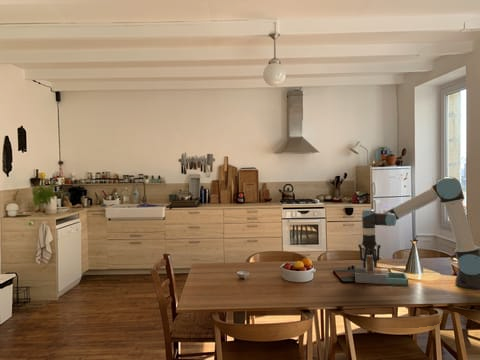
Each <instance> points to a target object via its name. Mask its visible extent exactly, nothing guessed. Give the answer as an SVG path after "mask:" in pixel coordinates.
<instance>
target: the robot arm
mask: <svg viewBox="0 0 480 360" xmlns="http://www.w3.org/2000/svg"><path fill="white" fill-rule="evenodd" d="M436 201H440V204H441V205H444V207H445V210H446V214H447V217H448V220H449V225H450V227H451V231H452V235H453V239H454V242H455V245H456V247H455V249H454V253H455V256H456V261H457V267H458V272H457V274H456V277H455V285H456V286H458V287H461V288H463V289H469V290H480V246H478V245H475V242H474V239H473V238H474V237H473V235H472V231H471V228H470V224H469V221H468V217H467V213H466V210H465V207H464V206H465V205H464V203H463V201H465V196H464V192H463V188H462V185H461V181H460V180H459V179H457V178H456V177H453V176H446V177H442V178H441V179H440V180H438V182H437V183H435V184H433V185H431V187H430V188H429V189H428V190H425V191H424V192H421V193H420V194H418V195H416V196H414V197H412V198H410V199H408V200H406V201H404V202H402V203H400V204H399V205H397V206H394V207H393V208H391V209H389V210H387V211H385V212H382V213H379V212H376V211H375V210H374V209H363V210H362V212H361V215H362V216H361V220H362V221H361V222H362V224H361V226H362V242H361V243H358V248H359V257H360V261H361V260H363V261H364V266H366V272H367V261H366V256H367V250H368V249H371V250H372V254H373V259H374V261H373V272H374V267H376V261H377V262H379V261H380V250H381V244H378V243H377V242H376V226H381V227H382V226H384V227H395V226H396V224H397V221H398V220H400V219H402V218H403V217H406V216H408V215H410V214H411V213H413V212H415V211H418V210H420V209H422V208H424V207H426V206H428V205H431V204H432V203H434V202H436ZM375 247H376V257H377V259H376V258H375V254H374V248H375ZM362 248H365V254H364V258H362Z"/></svg>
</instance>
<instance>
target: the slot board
mask: <svg viewBox="0 0 480 360" xmlns="http://www.w3.org/2000/svg"><path fill="white" fill-rule="evenodd" d="M354 282H355V283H360V284H361V283H363V284H376V285H377V284H379V285H388V284H387V281H386V274H374V272H373V271H372V274H368V271H367V272H366V268H361V267H354Z"/></svg>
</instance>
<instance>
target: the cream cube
mask: <svg viewBox="0 0 480 360" xmlns="http://www.w3.org/2000/svg"><path fill="white" fill-rule="evenodd" d="M388 272H389V269H388V268H381V274H386V277H388Z"/></svg>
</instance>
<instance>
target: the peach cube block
mask: <svg viewBox="0 0 480 360" xmlns="http://www.w3.org/2000/svg"><path fill="white" fill-rule="evenodd" d="M381 269H382V268H380V267H379V268H378V267H377V268H374V274H381Z"/></svg>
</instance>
